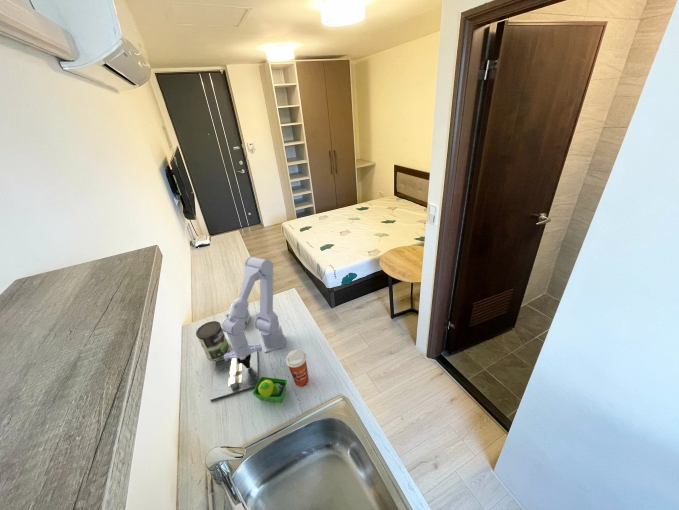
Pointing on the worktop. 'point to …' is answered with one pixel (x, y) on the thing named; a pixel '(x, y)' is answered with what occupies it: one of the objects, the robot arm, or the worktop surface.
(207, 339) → the coffee can
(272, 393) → the fruit basket
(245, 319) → the light bulb box
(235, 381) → the swing bar
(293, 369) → the paper cup
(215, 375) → the chassis tray
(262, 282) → the robot arm
